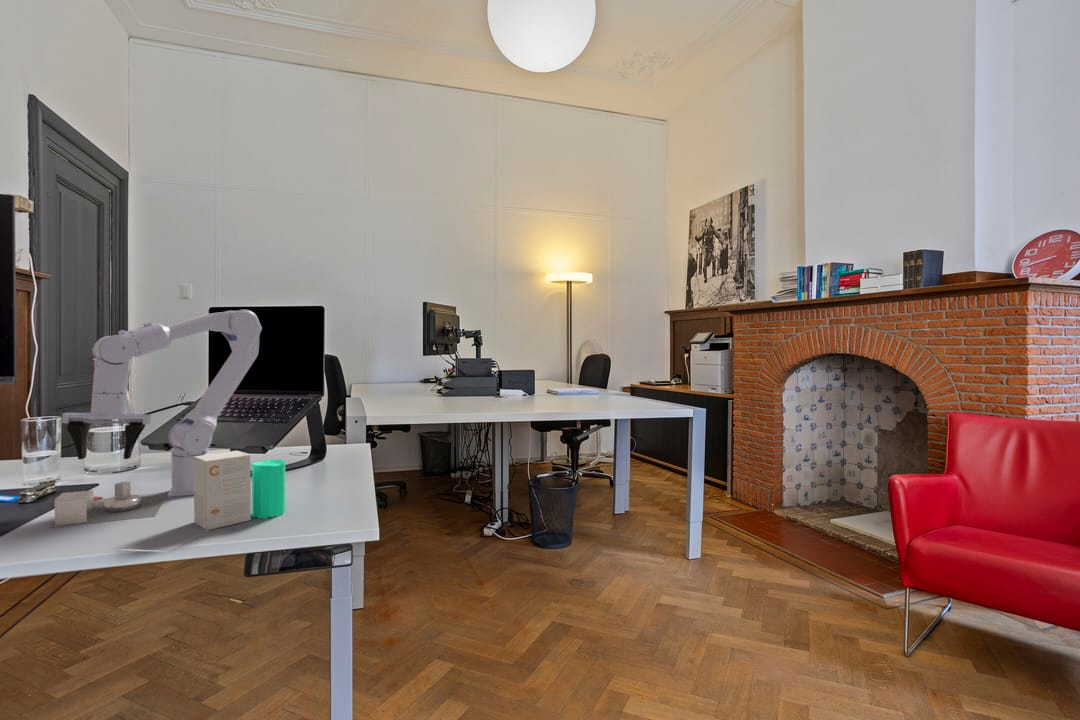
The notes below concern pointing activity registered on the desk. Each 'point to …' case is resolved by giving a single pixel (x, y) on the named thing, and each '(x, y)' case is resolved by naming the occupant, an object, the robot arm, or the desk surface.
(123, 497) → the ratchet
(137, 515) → the mat
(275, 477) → the candle
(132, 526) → the desk surface
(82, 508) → the pale grey cube
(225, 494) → the small box
